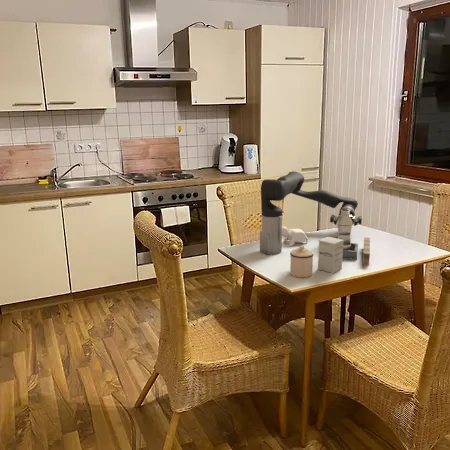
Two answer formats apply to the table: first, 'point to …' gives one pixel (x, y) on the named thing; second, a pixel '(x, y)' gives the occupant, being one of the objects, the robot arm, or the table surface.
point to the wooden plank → (366, 251)
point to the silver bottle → (345, 229)
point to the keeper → (351, 252)
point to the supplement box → (330, 254)
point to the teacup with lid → (301, 262)
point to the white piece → (294, 235)
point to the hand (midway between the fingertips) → (345, 223)
